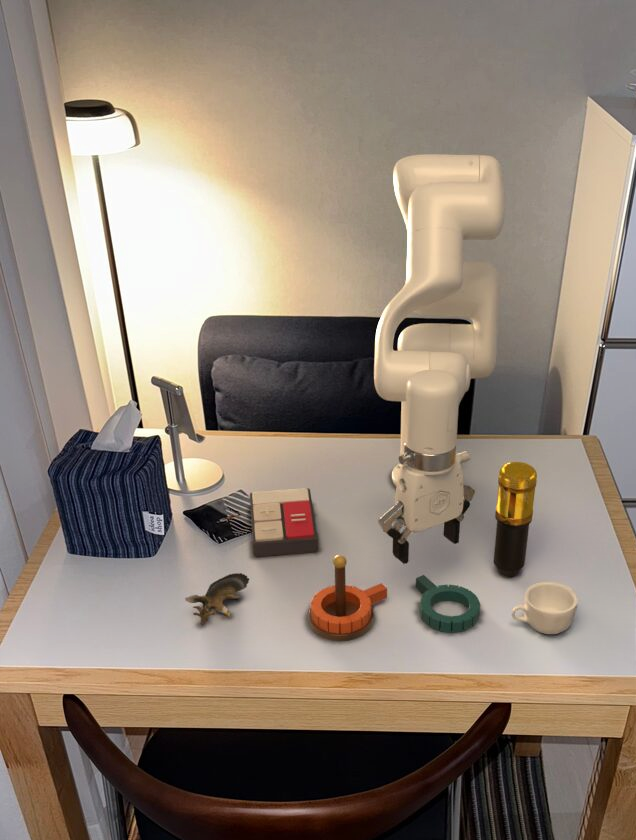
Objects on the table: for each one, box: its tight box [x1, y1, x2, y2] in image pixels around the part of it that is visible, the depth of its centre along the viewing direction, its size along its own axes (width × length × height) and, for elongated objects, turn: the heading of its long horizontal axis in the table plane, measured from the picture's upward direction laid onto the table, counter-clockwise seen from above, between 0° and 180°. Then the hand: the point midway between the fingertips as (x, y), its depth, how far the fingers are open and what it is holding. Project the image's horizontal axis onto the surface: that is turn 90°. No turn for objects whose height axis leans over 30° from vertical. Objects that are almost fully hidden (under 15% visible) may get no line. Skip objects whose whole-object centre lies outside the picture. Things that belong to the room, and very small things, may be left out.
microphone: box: [493, 461, 538, 578], centre depth 146 cm, size 6×13×20 cm, turn 108°
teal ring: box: [415, 574, 481, 634], centre depth 143 cm, size 13×9×2 cm
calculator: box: [249, 487, 319, 558], centre depth 160 cm, size 11×4×15 cm
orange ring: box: [310, 583, 388, 634], centre depth 140 cm, size 13×9×2 cm
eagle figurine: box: [184, 572, 250, 626], centre depth 141 cm, size 8×7×9 cm
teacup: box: [510, 581, 579, 635], centre depth 138 cm, size 10×8×5 cm
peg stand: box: [308, 554, 374, 642], centre depth 138 cm, size 10×10×12 cm
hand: (426, 549), depth 142 cm, fingers open, 9 cm apart
